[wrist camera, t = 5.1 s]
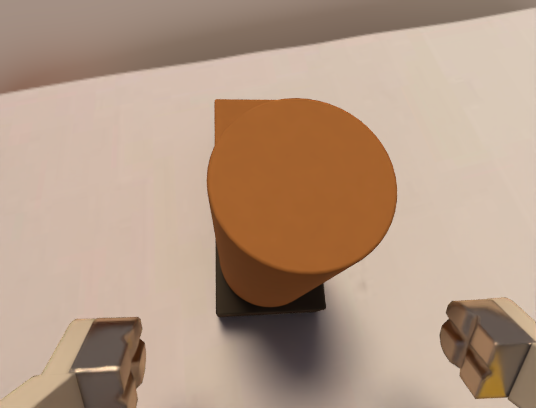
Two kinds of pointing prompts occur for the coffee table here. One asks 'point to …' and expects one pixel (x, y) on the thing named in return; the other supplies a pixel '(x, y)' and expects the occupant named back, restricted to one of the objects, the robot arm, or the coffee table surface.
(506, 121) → the coffee table surface
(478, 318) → the robot arm
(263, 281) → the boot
